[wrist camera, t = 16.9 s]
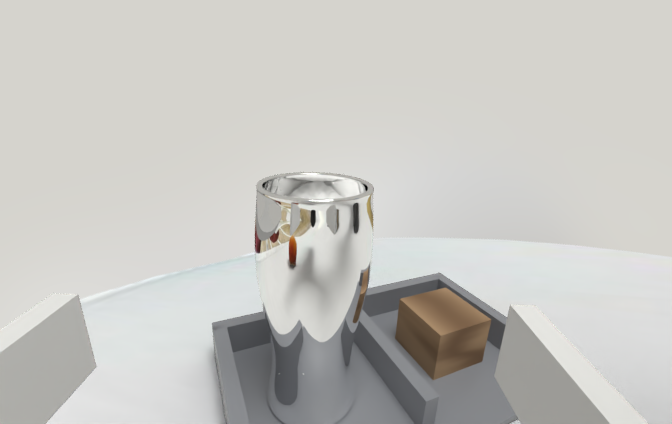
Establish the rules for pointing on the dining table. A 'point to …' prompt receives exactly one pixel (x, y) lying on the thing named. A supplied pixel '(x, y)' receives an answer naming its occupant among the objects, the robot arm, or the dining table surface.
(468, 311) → the walnut block
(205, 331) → the dining table surface
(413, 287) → the tray
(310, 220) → the beer glass
